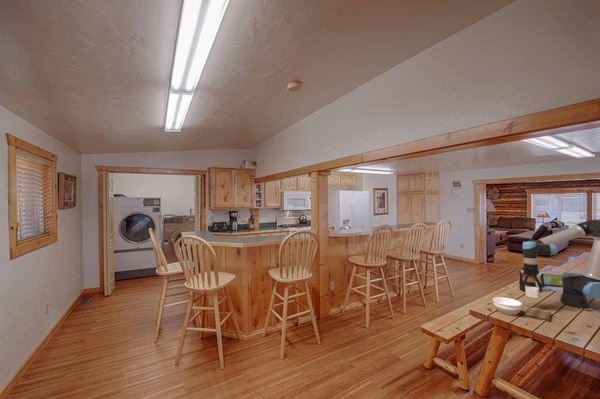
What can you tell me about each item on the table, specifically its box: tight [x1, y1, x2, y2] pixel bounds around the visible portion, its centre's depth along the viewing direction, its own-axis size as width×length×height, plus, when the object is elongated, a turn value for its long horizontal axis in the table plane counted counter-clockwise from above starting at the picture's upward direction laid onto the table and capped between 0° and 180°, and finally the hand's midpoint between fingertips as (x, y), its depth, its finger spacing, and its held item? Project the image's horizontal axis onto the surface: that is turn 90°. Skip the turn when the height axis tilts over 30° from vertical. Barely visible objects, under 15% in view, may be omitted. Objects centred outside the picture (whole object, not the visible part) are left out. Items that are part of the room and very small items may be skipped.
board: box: [524, 307, 552, 323], centre depth 177 cm, size 12×14×2 cm
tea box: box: [536, 270, 563, 293], centre depth 227 cm, size 15×10×15 cm, turn 68°
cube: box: [525, 286, 539, 299], centre depth 188 cm, size 6×6×6 cm
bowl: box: [492, 296, 523, 317], centre depth 184 cm, size 16×16×8 cm
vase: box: [518, 266, 537, 292], centre depth 224 cm, size 11×11×20 cm
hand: (532, 295), depth 188 cm, fingers closed on cube, 6 cm apart
